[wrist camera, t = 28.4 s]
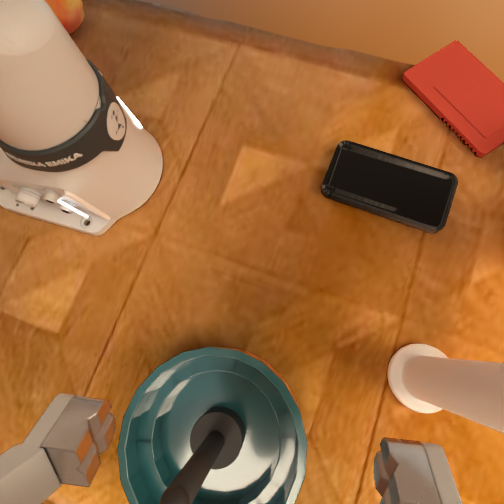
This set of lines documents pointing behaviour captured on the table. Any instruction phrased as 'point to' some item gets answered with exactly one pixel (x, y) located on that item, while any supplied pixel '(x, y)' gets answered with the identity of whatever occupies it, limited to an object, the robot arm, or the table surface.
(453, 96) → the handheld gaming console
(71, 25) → the apple
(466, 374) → the candle
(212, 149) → the table surface
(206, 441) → the dark post on base
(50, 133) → the robot arm
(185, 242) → the table surface
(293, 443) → the bowl
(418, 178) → the phone
